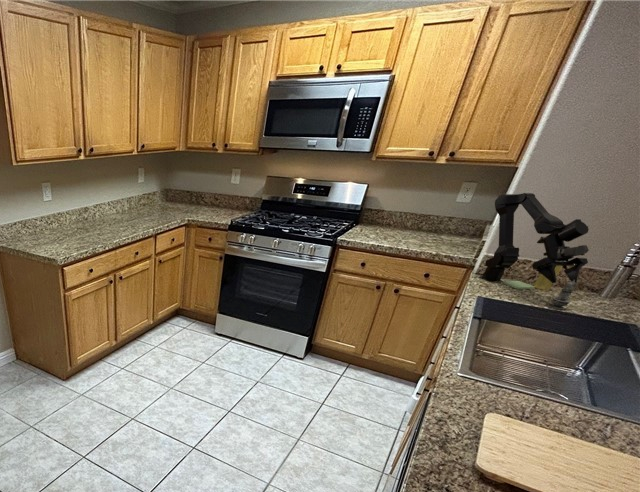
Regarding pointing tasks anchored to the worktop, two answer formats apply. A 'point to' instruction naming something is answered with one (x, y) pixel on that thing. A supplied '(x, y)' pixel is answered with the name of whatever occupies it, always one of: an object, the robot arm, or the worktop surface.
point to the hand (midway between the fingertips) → (564, 282)
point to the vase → (545, 280)
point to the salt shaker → (563, 296)
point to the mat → (518, 285)
